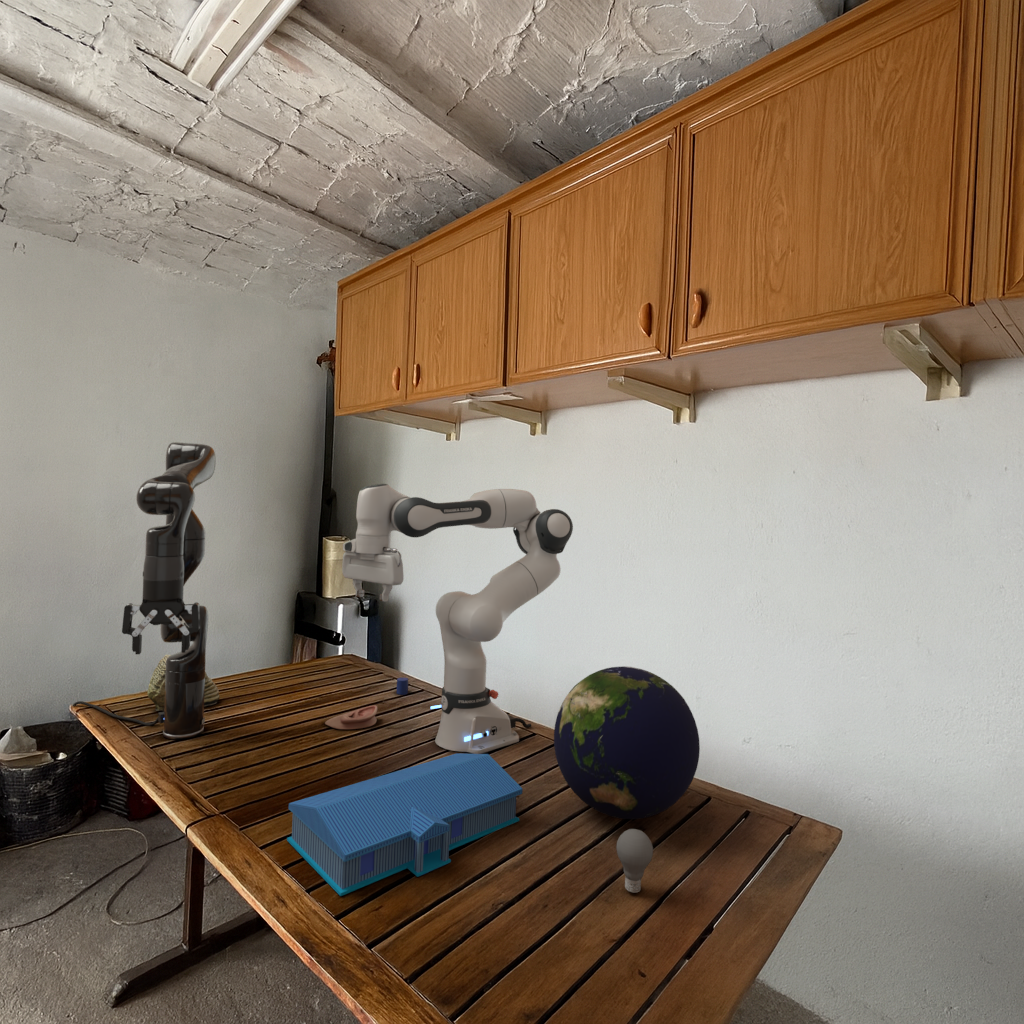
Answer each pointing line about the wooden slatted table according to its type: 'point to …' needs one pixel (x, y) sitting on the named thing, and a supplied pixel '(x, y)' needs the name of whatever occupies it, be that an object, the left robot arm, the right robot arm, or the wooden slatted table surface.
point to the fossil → (158, 687)
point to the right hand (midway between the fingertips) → (371, 598)
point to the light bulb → (634, 857)
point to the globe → (626, 742)
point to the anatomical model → (354, 719)
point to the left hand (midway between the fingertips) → (161, 652)
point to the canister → (402, 686)
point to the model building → (402, 819)
